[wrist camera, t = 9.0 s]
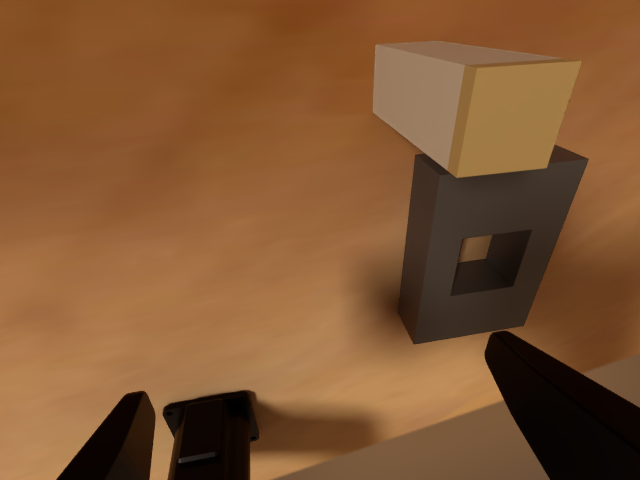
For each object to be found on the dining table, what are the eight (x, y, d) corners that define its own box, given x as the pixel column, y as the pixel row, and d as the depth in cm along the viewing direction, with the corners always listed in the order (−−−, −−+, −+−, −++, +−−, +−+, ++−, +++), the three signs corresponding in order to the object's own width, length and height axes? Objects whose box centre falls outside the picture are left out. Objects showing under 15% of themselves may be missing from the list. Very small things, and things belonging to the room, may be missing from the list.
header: (498, 296, 27) (523, 325, 24) (397, 312, 26) (413, 344, 23) (547, 141, 20) (588, 158, 18) (415, 154, 19) (440, 175, 17)
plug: (429, 107, 18) (546, 167, 11) (372, 112, 18) (456, 177, 11) (437, 40, 16) (582, 60, 9) (375, 44, 16) (476, 67, 9)
